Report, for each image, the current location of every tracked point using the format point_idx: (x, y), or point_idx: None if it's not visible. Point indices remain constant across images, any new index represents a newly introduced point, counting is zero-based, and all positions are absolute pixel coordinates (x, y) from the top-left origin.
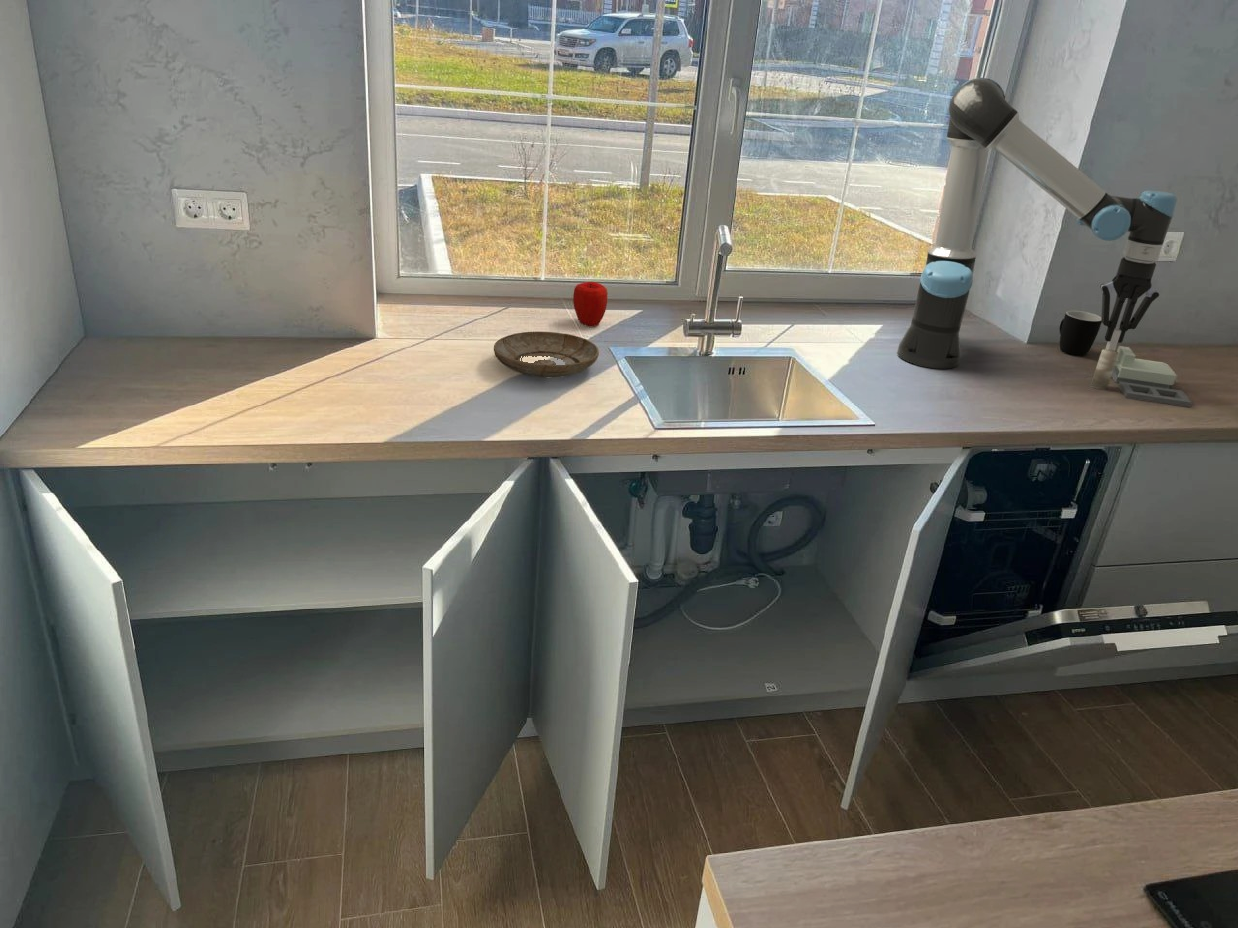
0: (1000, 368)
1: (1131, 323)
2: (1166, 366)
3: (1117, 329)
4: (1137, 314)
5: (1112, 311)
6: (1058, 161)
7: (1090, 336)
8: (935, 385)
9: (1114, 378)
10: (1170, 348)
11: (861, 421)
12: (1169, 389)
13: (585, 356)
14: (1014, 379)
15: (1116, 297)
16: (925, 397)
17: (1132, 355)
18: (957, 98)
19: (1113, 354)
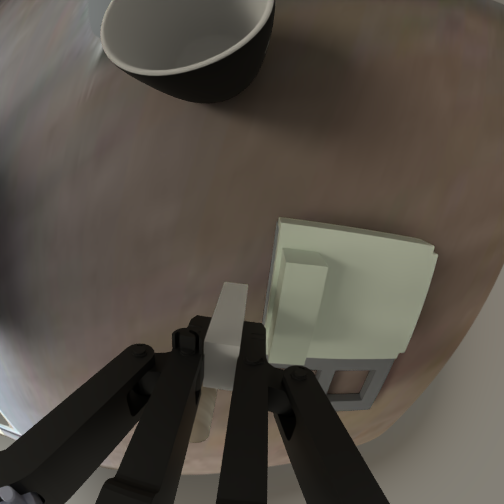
0: (32, 295)
1: (283, 407)
2: (422, 285)
3: (220, 376)
4: (296, 465)
5: (147, 404)
6: None
7: (223, 88)
8: (7, 374)
9: (265, 303)
10: (479, 17)
11: (15, 430)
12: (369, 361)
13: None
14: (57, 347)
15: (106, 484)
16: (16, 401)
17: (293, 363)
18: None
19: (191, 441)
